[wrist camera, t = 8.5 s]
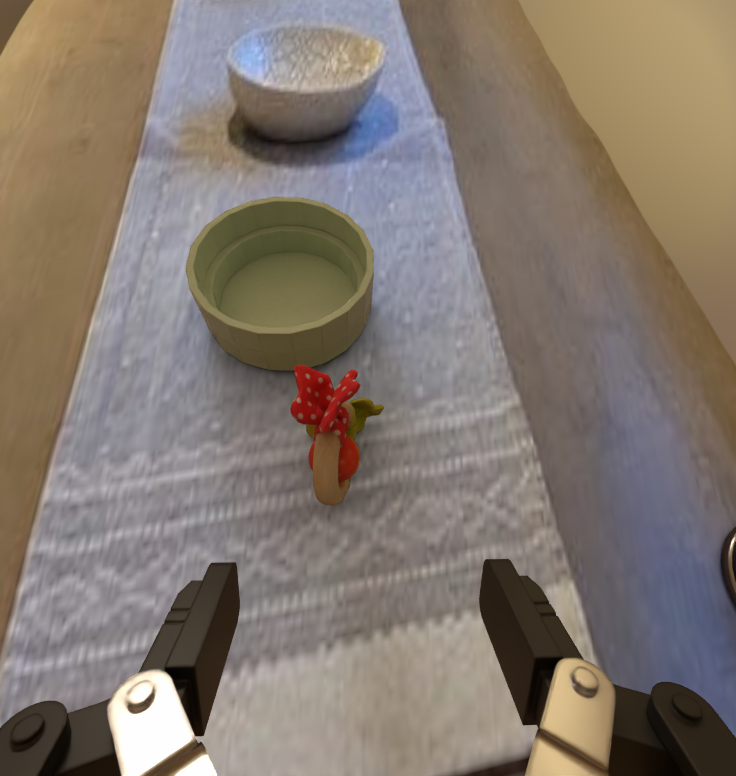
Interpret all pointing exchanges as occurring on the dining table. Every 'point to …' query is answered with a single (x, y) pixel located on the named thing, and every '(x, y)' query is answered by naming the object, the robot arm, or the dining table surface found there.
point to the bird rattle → (331, 429)
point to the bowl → (283, 281)
